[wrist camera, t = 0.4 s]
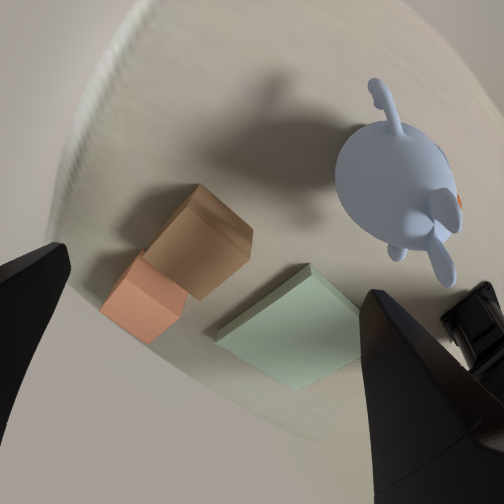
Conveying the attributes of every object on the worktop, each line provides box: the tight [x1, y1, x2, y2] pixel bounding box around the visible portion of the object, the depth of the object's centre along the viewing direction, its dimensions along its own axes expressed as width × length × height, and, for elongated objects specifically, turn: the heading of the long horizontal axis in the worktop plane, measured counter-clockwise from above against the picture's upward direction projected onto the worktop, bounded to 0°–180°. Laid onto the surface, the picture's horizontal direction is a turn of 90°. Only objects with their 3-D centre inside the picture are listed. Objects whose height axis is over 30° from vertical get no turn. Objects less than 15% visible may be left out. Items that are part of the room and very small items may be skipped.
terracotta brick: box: [99, 249, 188, 345], centre depth 24 cm, size 5×5×4 cm
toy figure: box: [335, 78, 462, 288], centre depth 14 cm, size 11×6×12 cm, turn 16°
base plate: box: [215, 263, 361, 391], centre depth 27 cm, size 11×11×2 cm
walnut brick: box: [142, 184, 253, 301], centre depth 21 cm, size 5×5×4 cm
